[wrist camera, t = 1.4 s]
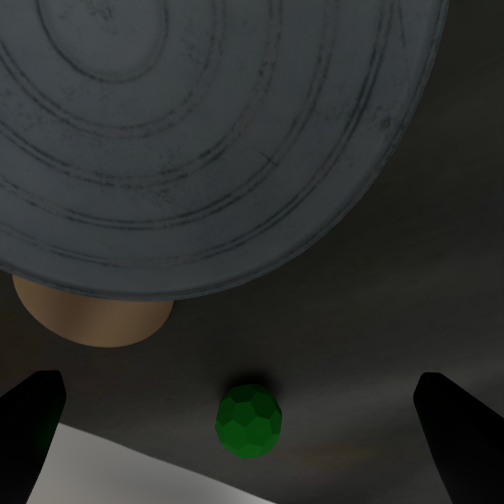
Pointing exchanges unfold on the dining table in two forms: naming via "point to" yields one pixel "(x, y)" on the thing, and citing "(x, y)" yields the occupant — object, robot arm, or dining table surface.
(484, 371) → the dining table surface
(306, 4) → the canned food
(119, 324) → the coaster
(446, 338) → the dining table surface
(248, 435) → the polyhedron
